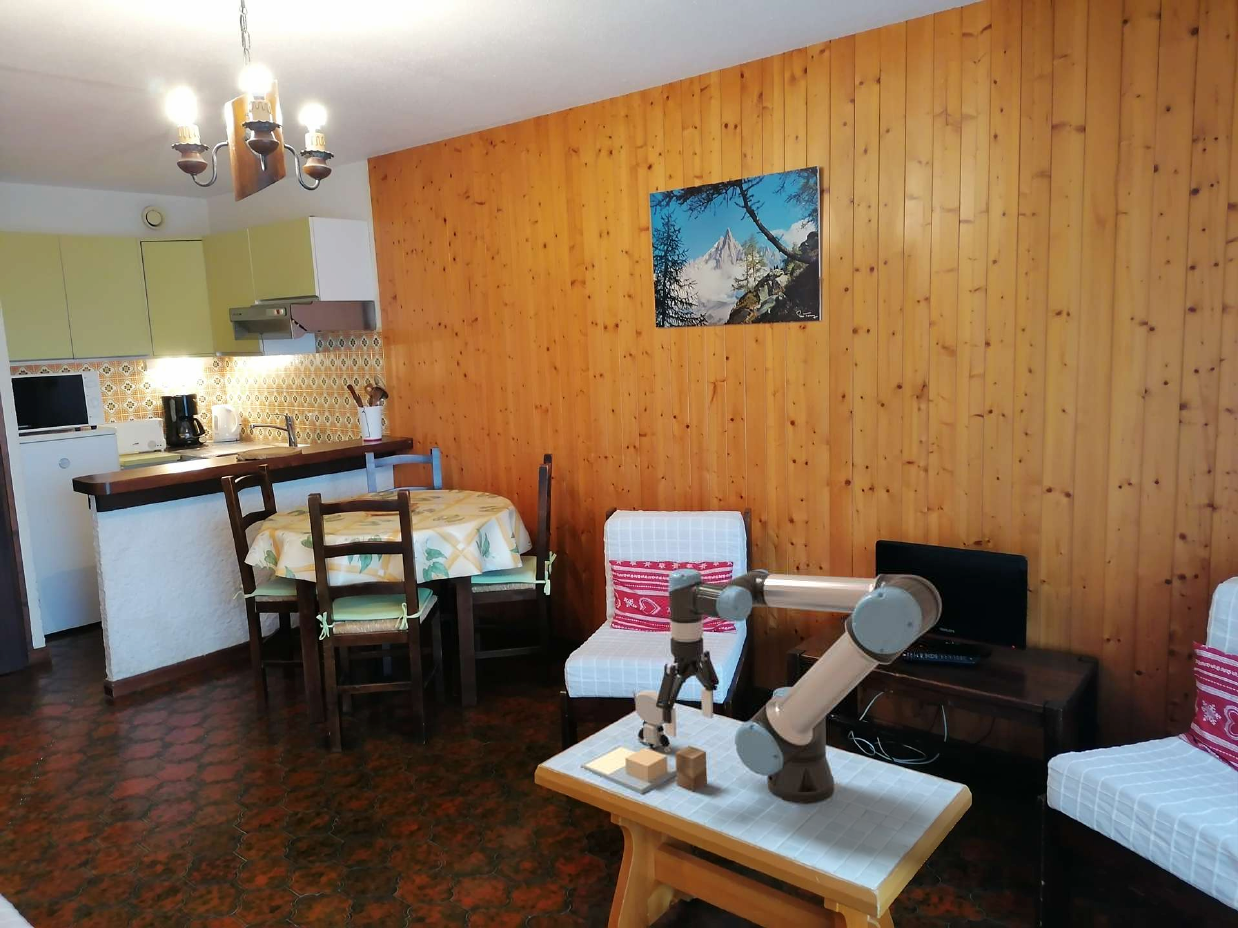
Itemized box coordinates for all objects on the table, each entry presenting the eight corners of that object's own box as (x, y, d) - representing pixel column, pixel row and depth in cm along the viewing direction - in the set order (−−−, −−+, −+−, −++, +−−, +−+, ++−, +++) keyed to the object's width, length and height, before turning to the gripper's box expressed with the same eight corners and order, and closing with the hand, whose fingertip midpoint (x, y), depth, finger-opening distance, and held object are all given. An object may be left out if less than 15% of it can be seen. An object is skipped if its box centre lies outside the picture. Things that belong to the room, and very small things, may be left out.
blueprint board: (680, 772, 211) (679, 751, 211) (641, 794, 201) (640, 772, 201) (619, 749, 225) (619, 730, 225) (580, 769, 215) (579, 749, 214)
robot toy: (679, 751, 223) (677, 694, 222) (666, 756, 220) (664, 699, 218) (644, 737, 232) (642, 683, 230) (632, 743, 229) (630, 687, 227)
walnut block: (706, 783, 205) (705, 751, 204) (693, 791, 202) (692, 758, 201) (690, 777, 209) (689, 745, 208) (676, 785, 205) (675, 752, 204)
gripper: (707, 621, 213) (709, 705, 215) (638, 647, 195) (641, 739, 197) (732, 626, 208) (734, 712, 210) (663, 654, 190) (667, 748, 192)
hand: (689, 725), depth 204 cm, fingers open, 13 cm apart
